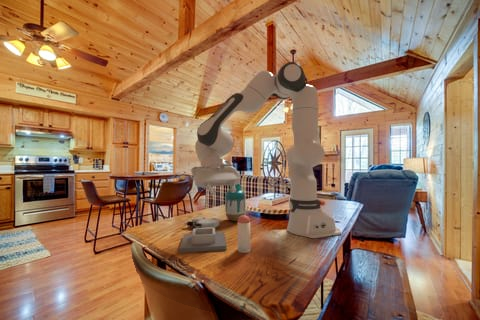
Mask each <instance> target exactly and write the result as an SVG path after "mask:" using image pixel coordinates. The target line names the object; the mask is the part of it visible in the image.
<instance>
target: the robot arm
mask: <svg viewBox="0 0 480 320" xmlns="http://www.w3.org/2000/svg"><path fill="white" fill-rule="evenodd" d="M271 96H272V97H275V98H277V99H281V100H288V99H291V103H292V110H291V131H292V133H293V134H292V135H293V140H294V144H292V145H291V146H290V147H289V148H288V150H287V151H286V159H287V167H288V173H289V181H290V197H289V204H288V205H289V218H288V223H287V226H286V227H287V228H286V230H287V231H288V232H289V233H291V234H292V235H293V234H294V235H296V236H301V237H307V238H309V239H317V238H319V239H320V238H325V237H331V236H332V235H333V236H339V235H342V231H341V229H340V228H339V227H337V226H336V222H335V219H334V217H333V216H332V215H330V213H329V212H327V211H325V209H323V208H322V207H324V206H325V205H326V201H325V200H319V198H318V194H317V193H318V191H317V190H318V189H317V188H318V187H317V185H318V184H317V179H316V177H315V173H314V170H313V168H314V167H316V166H318V165H320V164H321V163H322V162H323V160H324V159H325V154H326V152H325V149H324V147H323V145H322V144H321V139H320V134H319V106H320V105H319V95H318V90H317V88H316V87H315V86H313V85H311V84H308V78H307V77H306V73H305V71H304V68H303V67H302V65H301V64H300V63H299V62H295V61H287V62H286V63H284V64H283V65H282V66H281V67H280V68H279V70H278V72H277V74H273V73H272V72H270V71H268V70H261V71H259V72H258V73H257V74H256V75H255V76H254V77H253V78H251V80H250V81H249V82H248V84H247V85H246V86H245V88H243V89H242V90H241V91H240V92H235V93H233V94H232V95H231V96H229V97H228V98H227V99H226V100H225V101H224V102H223V103H222V105H220V107H218V108H217V110H216V111H215V112H214V113H213V114H211V115H210V117H208V118H207V119H206V120H204V121H203V122H202V123H201V124H200V125H199V126H198V128H197V131H196V136H197V140H196V142H195V144H194V149H195V150H194V151H195V154H196V155H197V159H198V161H199V162H200V166H194V167H192V168H191V171H190V172H191V175H193V180H194V181H193V182H194V185H195V187H197V188H205V189H206V190H207V191H208V192H209V193H210V195H212V196H213V195H215V194H217V191H216V188H213V187H220V186H221V187H222V186H229V187H230V186H232V188H231V189H230V188H229V190H231V192H232V193H234V192H236V188H235V185H237V184H238V183H240V182H241V176H240V173H239V172H238V170H237V169H236V168H235V167H234V163H233V162H232V161H230V160H226V159H223V158H222V157H224V156H225V155H228V154H229V153H230V152H231V151H232V150H233V148H234V145H235V140H234V137H233V136H232V135H230V134H229V132H227V131H225V130H224V129H223V128H222V126H223V124H224V123H226V121H228V119H229V118H231V116H232V115H233V114H234V113H236V112H239V111H240V112H244V113H248V114H254V113H257V112H259V111H260V110H261V109H262V108H263V107H264V105H265V104H266V102H267V101H268V100H269V98H270V97H271ZM333 236H332V237H333Z"/></svg>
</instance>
